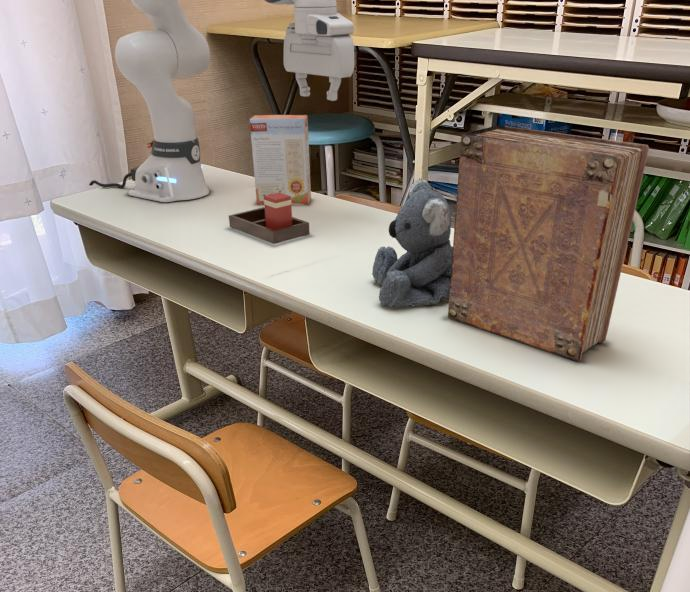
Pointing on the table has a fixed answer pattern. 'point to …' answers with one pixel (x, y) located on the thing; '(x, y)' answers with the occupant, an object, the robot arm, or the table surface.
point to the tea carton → (278, 211)
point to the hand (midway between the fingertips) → (318, 98)
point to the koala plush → (417, 252)
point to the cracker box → (281, 156)
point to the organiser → (256, 226)
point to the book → (542, 234)
